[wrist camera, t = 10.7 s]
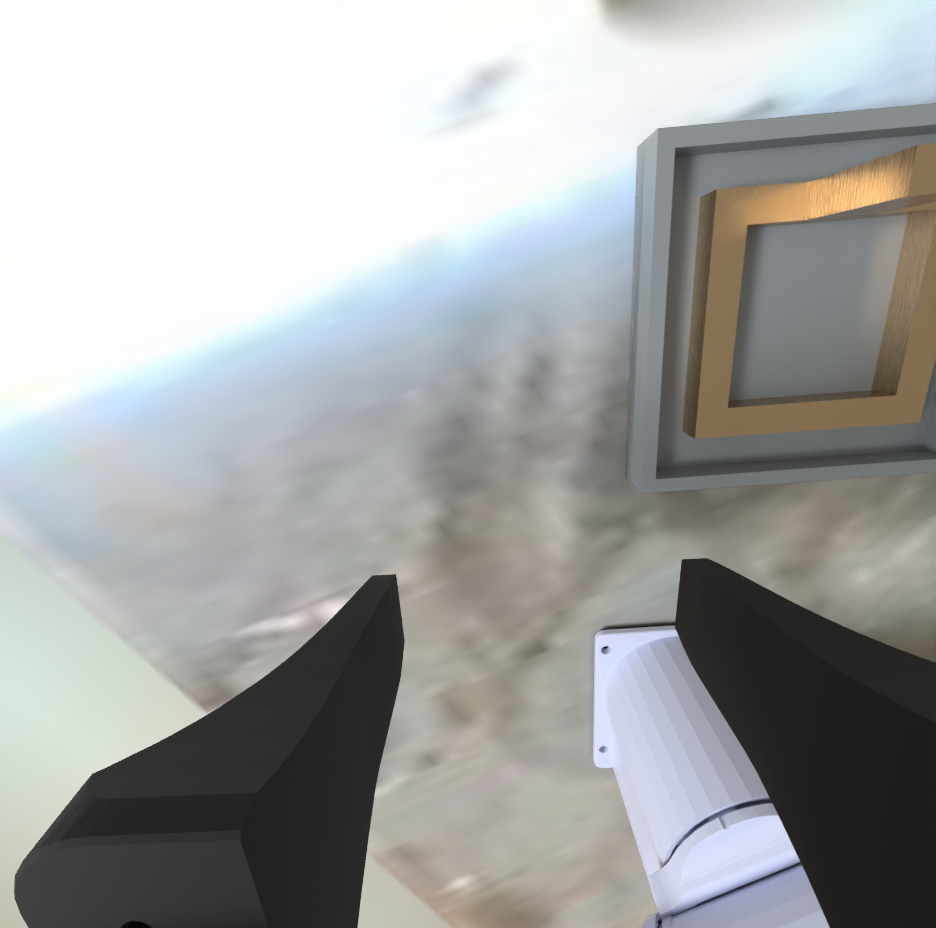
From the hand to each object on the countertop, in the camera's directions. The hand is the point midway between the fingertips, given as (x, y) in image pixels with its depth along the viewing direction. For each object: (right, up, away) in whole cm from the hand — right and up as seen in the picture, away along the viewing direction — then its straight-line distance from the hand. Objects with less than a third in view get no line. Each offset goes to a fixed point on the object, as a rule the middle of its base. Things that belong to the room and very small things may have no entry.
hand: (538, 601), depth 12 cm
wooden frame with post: (+12, +9, +7) cm, 16 cm away
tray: (+12, +10, +8) cm, 17 cm away
